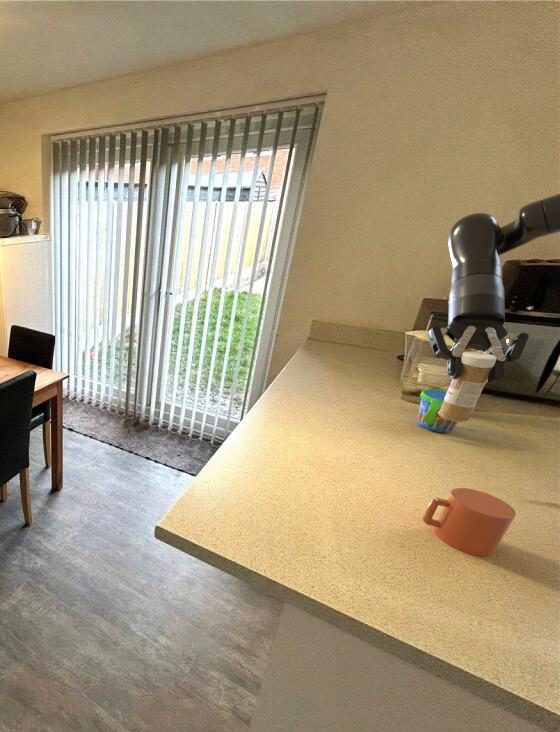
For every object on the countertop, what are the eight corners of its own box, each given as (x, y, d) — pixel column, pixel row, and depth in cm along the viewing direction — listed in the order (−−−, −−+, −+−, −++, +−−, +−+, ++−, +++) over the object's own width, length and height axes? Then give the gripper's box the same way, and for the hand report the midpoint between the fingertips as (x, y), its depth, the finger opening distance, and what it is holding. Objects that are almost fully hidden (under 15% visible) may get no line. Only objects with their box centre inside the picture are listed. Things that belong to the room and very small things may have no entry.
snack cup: (426, 414, 122) (438, 384, 118) (470, 429, 113) (485, 397, 109) (397, 425, 116) (409, 394, 112) (441, 442, 107) (456, 409, 103)
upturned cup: (483, 532, 77) (503, 496, 74) (502, 563, 71) (525, 524, 67) (413, 514, 82) (428, 479, 79) (424, 541, 75) (442, 504, 72)
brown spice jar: (435, 410, 81) (460, 349, 76) (466, 416, 79) (494, 352, 73) (439, 419, 78) (465, 355, 73) (471, 425, 75) (500, 359, 70)
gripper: (436, 289, 78) (433, 365, 73) (540, 294, 72) (544, 377, 67) (420, 310, 84) (416, 381, 80) (514, 316, 78) (516, 394, 73)
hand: (474, 379), depth 73 cm, fingers closed on brown spice jar, 4 cm apart
